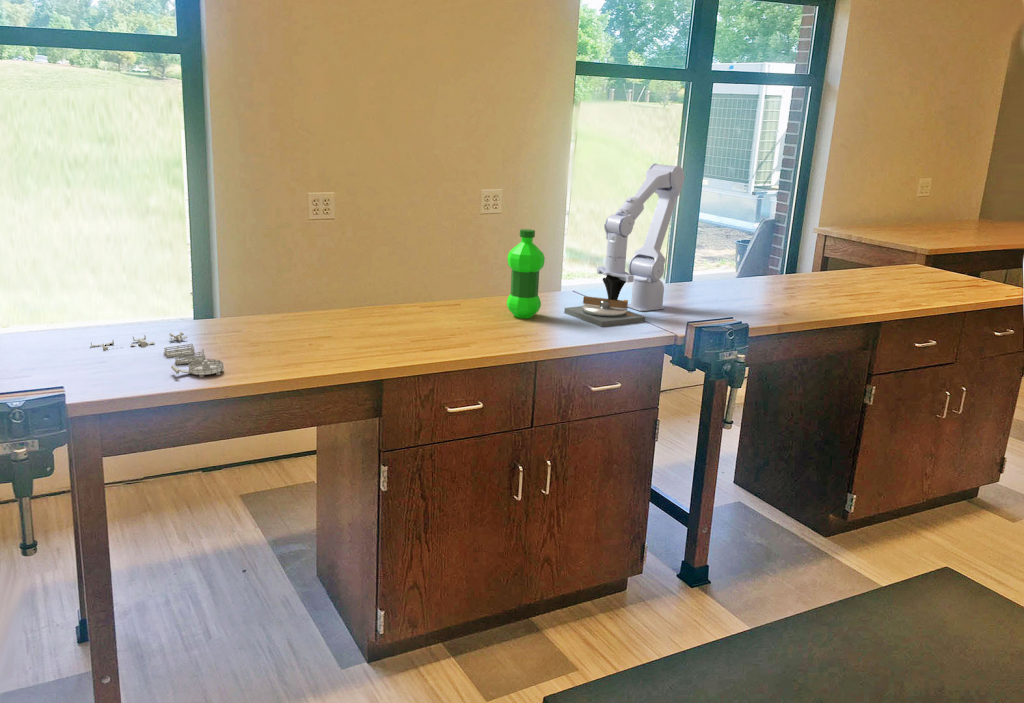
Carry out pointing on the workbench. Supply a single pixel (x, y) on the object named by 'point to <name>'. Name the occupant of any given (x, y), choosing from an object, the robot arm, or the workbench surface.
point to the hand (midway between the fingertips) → (612, 301)
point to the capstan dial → (604, 306)
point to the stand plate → (604, 317)
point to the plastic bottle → (525, 276)
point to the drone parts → (201, 370)
